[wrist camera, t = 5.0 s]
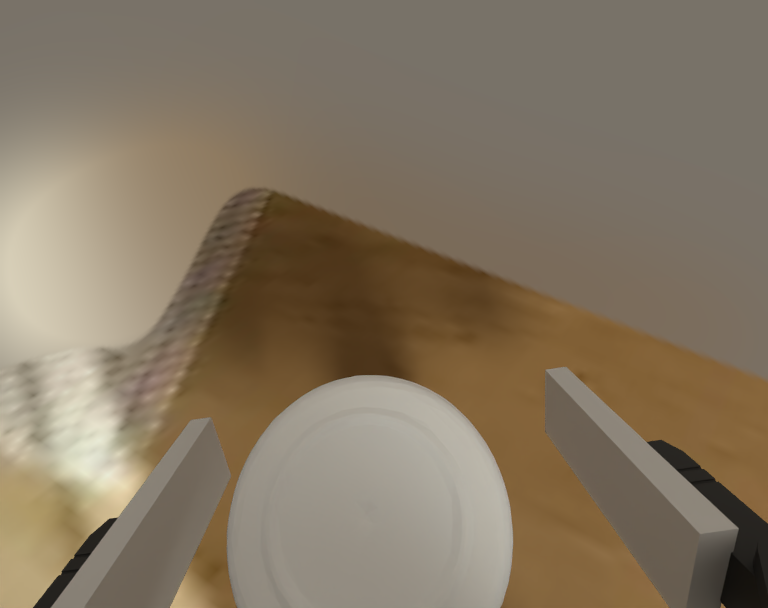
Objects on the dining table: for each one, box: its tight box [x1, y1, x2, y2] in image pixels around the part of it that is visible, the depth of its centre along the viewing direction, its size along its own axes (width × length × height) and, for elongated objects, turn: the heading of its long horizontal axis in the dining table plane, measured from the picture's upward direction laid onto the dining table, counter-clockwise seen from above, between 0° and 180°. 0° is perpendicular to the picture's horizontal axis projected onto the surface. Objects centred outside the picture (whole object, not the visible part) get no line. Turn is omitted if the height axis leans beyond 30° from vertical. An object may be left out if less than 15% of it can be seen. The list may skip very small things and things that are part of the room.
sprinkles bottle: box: [227, 375, 513, 608], centre depth 12 cm, size 5×5×14 cm
